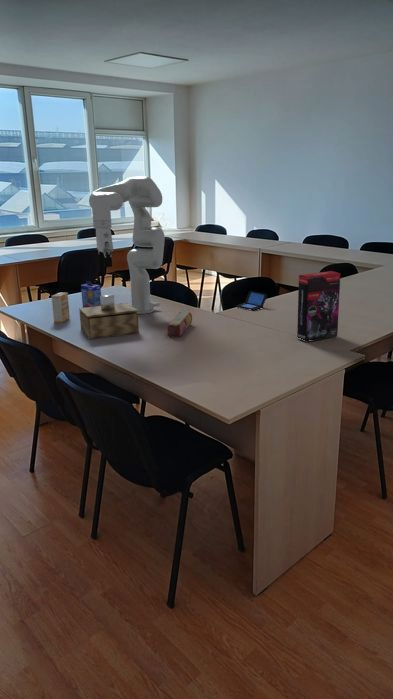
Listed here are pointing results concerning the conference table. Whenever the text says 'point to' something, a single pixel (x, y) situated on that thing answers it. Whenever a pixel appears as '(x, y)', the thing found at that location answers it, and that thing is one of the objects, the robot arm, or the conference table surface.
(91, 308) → the lid
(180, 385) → the conference table surface
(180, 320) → the snack package
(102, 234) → the robot arm
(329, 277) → the graphics card box
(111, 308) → the steel weight
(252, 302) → the handheld game console
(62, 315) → the supplement box
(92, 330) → the tan wicker box
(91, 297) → the ink cartridge box
